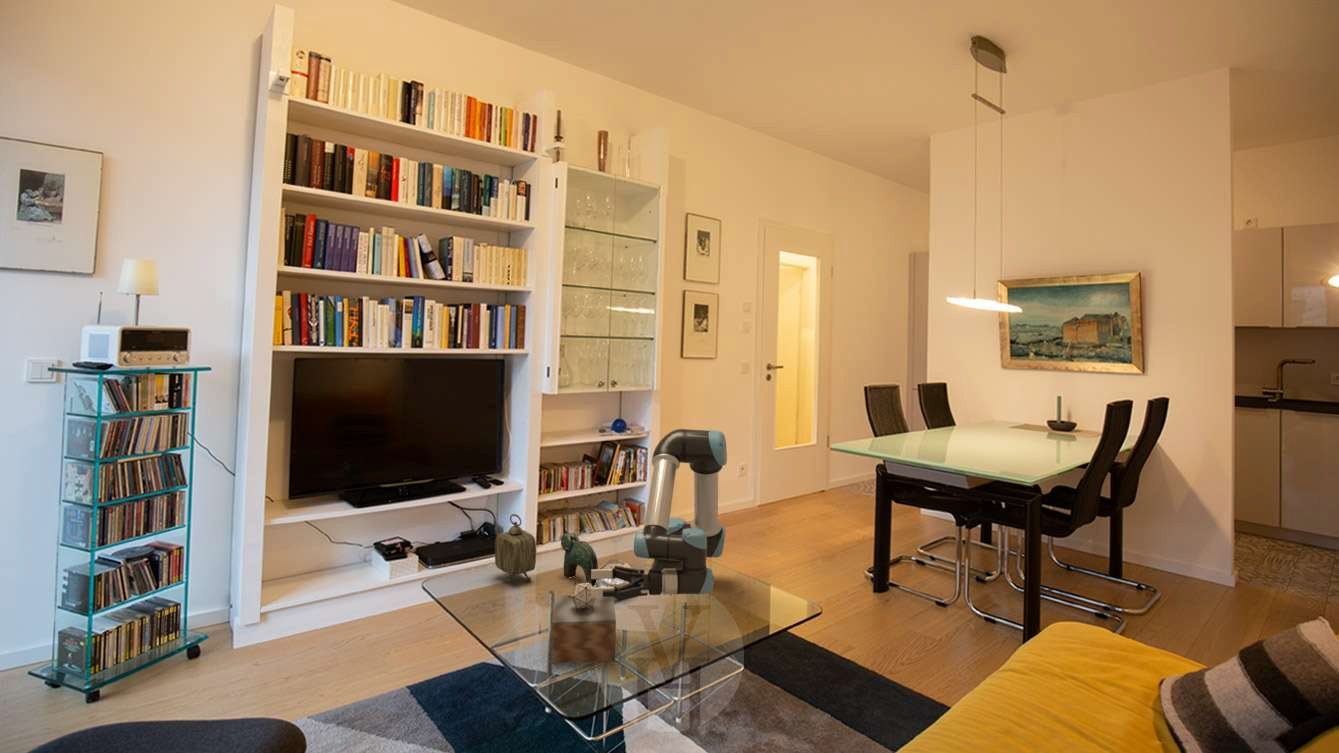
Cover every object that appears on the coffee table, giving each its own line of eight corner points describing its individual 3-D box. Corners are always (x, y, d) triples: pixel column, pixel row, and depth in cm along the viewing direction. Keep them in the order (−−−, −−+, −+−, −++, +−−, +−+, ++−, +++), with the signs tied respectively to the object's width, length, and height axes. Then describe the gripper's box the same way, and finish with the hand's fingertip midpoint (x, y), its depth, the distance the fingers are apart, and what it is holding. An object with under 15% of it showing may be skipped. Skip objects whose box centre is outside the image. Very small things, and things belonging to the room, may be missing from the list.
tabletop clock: (535, 582, 239) (536, 516, 237) (515, 589, 232) (515, 521, 230) (513, 571, 249) (514, 508, 247) (493, 577, 242) (493, 512, 240)
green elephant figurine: (558, 575, 245) (559, 524, 244) (573, 571, 250) (573, 521, 248) (588, 592, 231) (589, 538, 229) (603, 588, 235) (604, 535, 233)
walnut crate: (612, 630, 202) (613, 594, 202) (615, 660, 185) (615, 620, 184) (554, 632, 200) (555, 595, 199) (551, 663, 182) (552, 622, 181)
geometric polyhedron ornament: (587, 622, 190) (592, 605, 183) (561, 610, 191) (566, 592, 184) (600, 598, 197) (605, 580, 190) (575, 586, 198) (580, 568, 191)
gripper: (666, 612, 182) (590, 614, 179) (657, 577, 206) (590, 578, 204) (666, 586, 181) (591, 588, 178) (657, 554, 206) (591, 555, 203)
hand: (590, 583), depth 191 cm, fingers open, 13 cm apart
